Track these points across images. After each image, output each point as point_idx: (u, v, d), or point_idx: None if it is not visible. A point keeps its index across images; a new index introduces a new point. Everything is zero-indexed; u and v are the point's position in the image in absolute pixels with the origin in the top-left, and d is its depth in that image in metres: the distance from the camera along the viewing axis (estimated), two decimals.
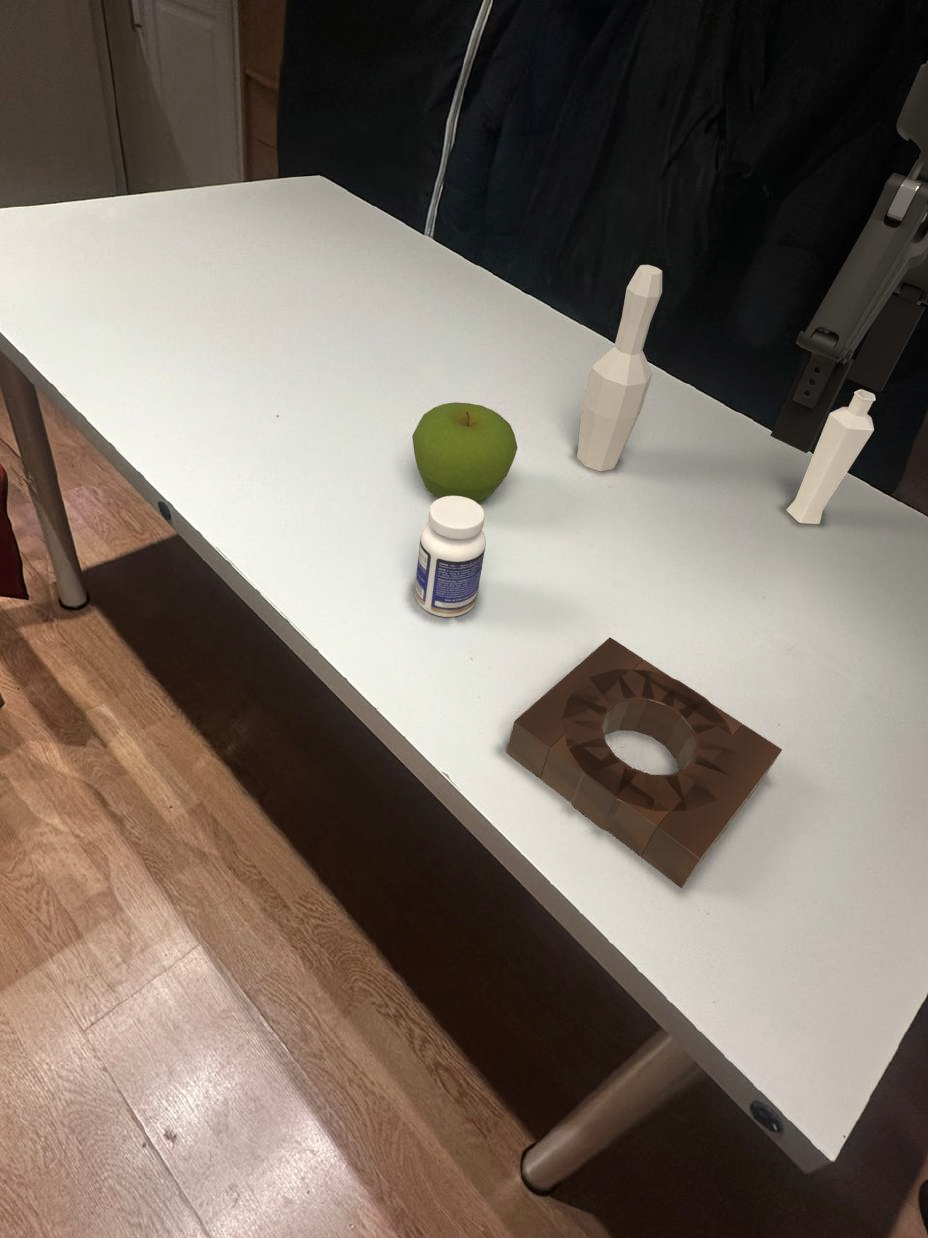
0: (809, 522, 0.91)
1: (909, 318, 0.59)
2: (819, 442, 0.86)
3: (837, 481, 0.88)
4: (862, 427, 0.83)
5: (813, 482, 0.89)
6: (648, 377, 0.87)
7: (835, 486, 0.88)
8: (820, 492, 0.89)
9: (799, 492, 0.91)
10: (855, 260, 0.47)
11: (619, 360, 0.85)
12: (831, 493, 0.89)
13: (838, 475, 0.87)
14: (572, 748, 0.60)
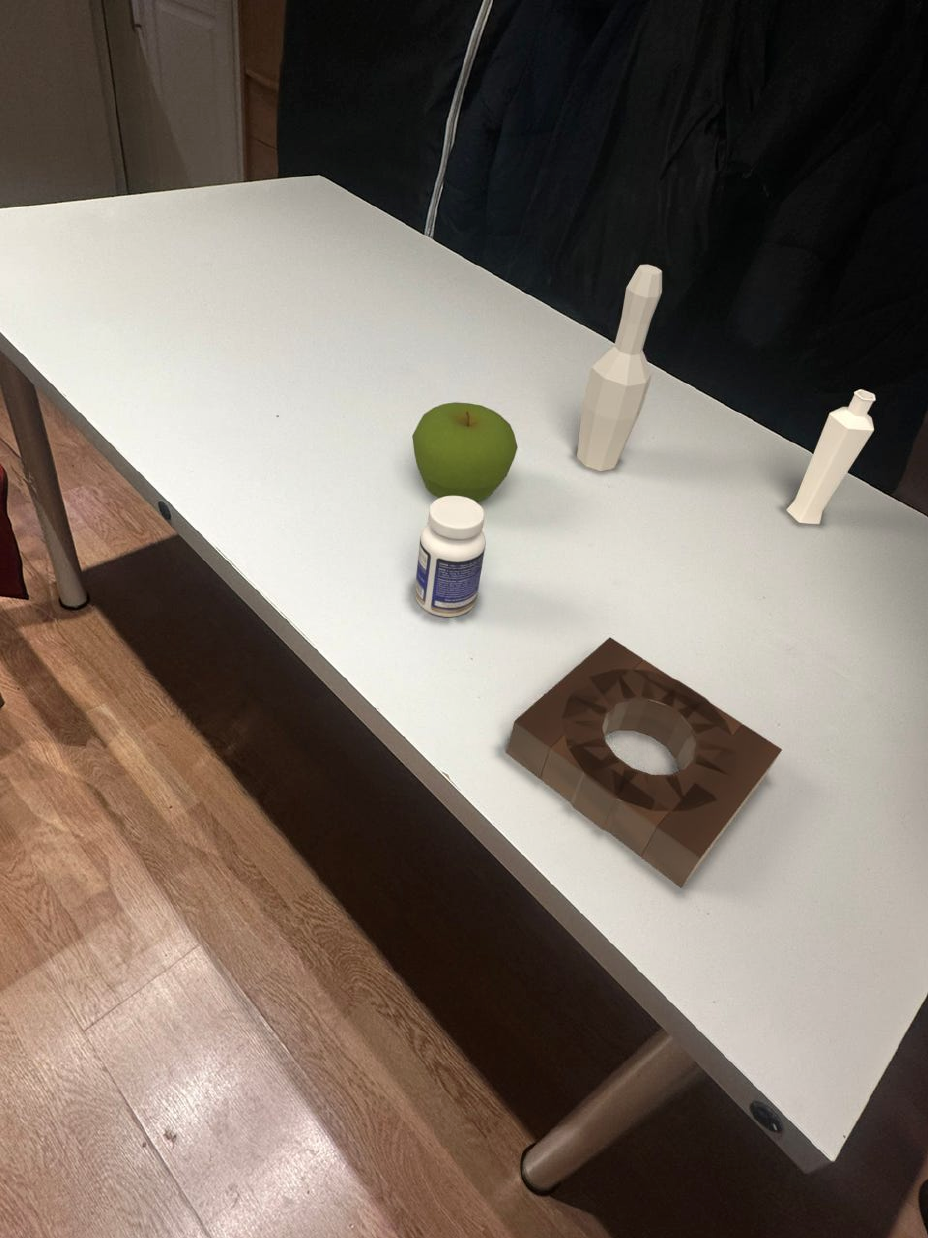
0: (809, 522, 0.91)
1: None
2: (819, 442, 0.86)
3: (837, 481, 0.88)
4: (862, 427, 0.83)
5: (813, 482, 0.89)
6: (648, 377, 0.87)
7: (835, 486, 0.88)
8: (820, 492, 0.89)
9: (799, 492, 0.91)
10: None
11: (619, 360, 0.85)
12: (831, 493, 0.89)
13: (838, 475, 0.87)
14: (572, 748, 0.60)
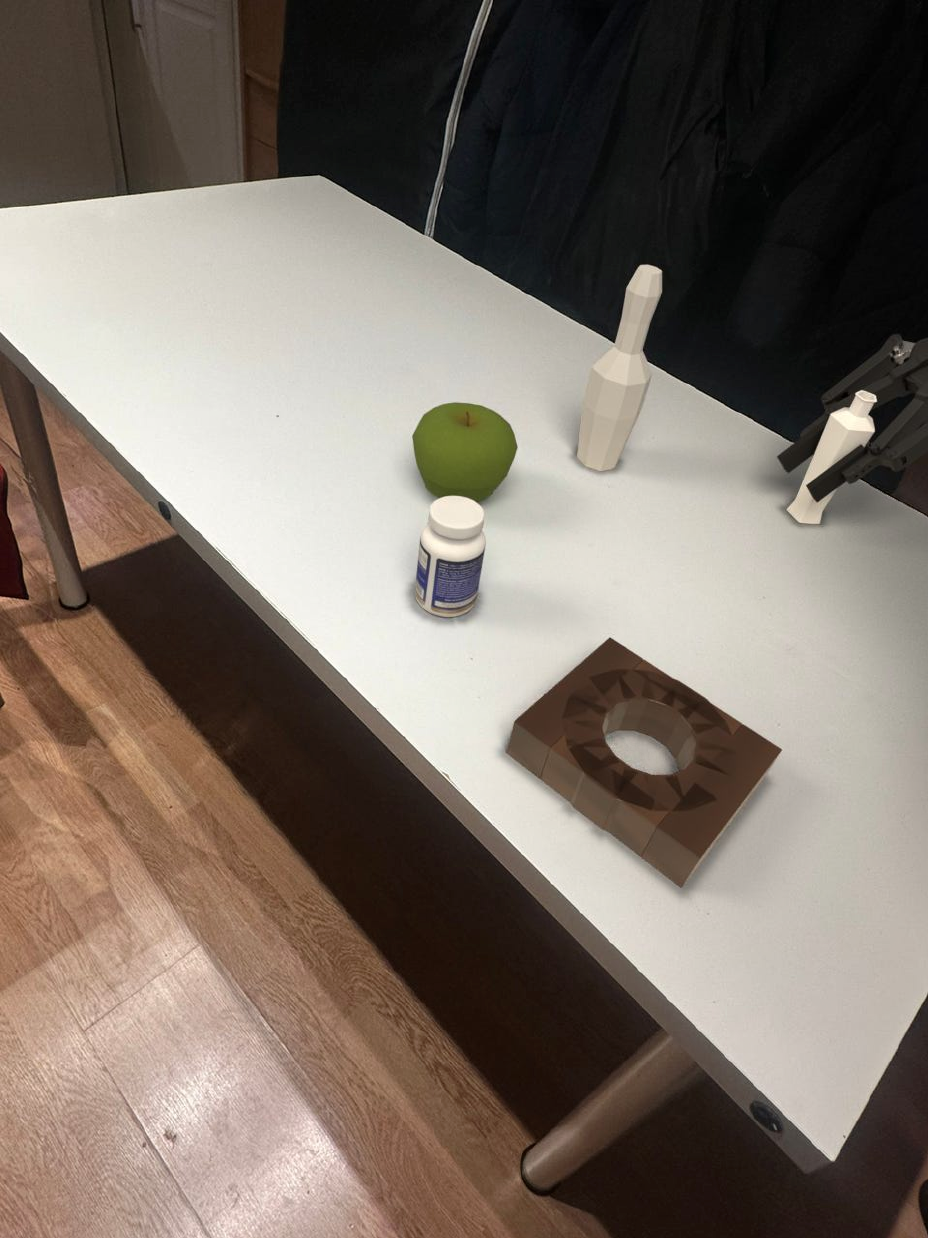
0: (809, 521, 0.91)
1: None
2: (820, 442, 0.86)
3: None
4: (863, 428, 0.83)
5: None
6: (648, 377, 0.87)
7: None
8: None
9: (799, 492, 0.91)
10: None
11: (619, 359, 0.85)
12: (831, 493, 0.89)
13: None
14: (572, 748, 0.60)
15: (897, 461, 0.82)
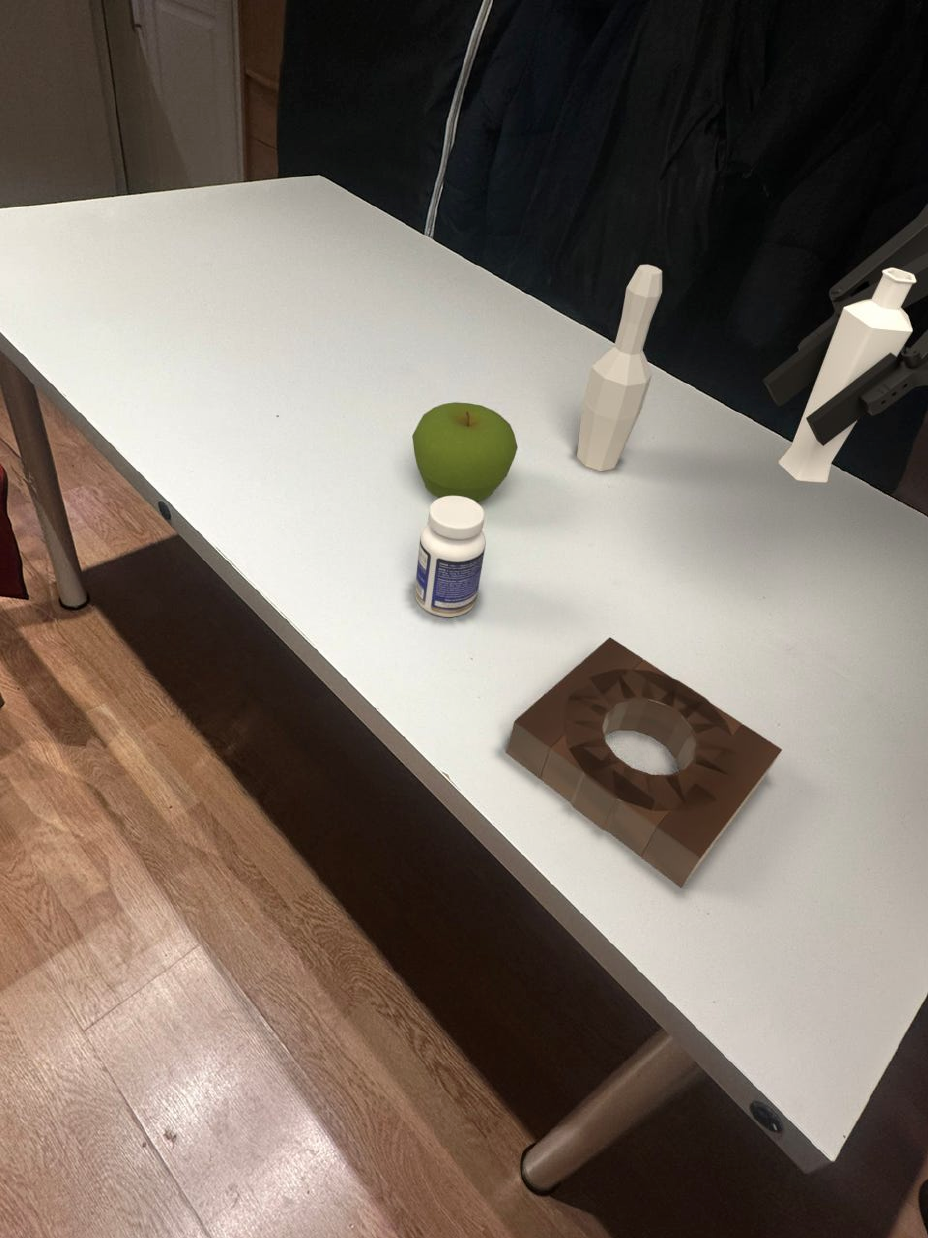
0: (812, 479, 0.62)
1: None
2: (827, 355, 0.57)
3: None
4: (895, 326, 0.53)
5: None
6: (648, 377, 0.87)
7: None
8: None
9: (796, 435, 0.62)
10: None
11: (619, 360, 0.85)
12: (845, 434, 0.60)
13: None
14: (572, 748, 0.60)
15: None
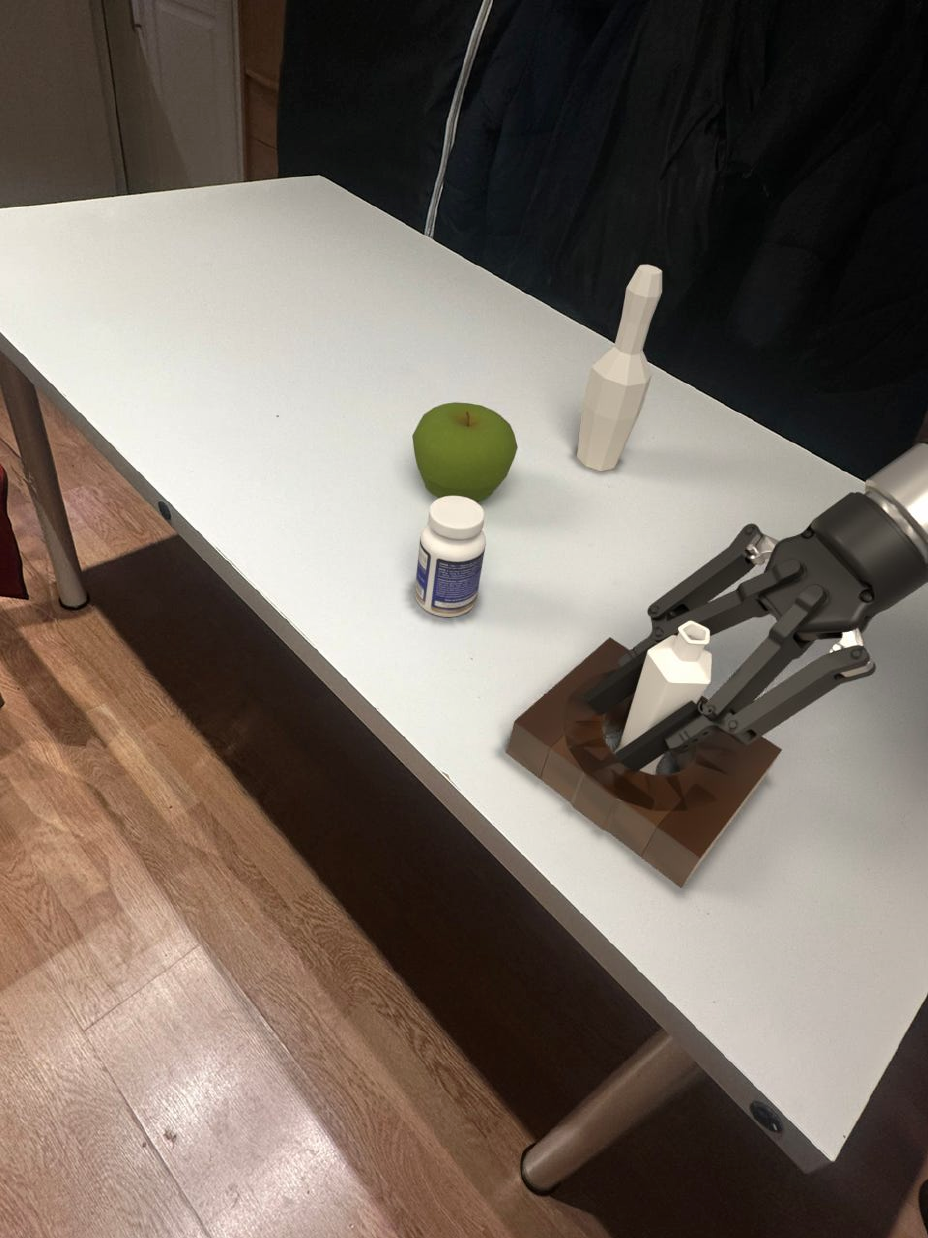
0: None
1: None
2: (639, 685, 0.58)
3: None
4: (692, 679, 0.55)
5: (635, 735, 0.60)
6: (648, 377, 0.87)
7: None
8: None
9: (622, 740, 0.63)
10: None
11: (619, 360, 0.85)
12: None
13: None
14: (572, 748, 0.60)
15: (741, 736, 0.53)
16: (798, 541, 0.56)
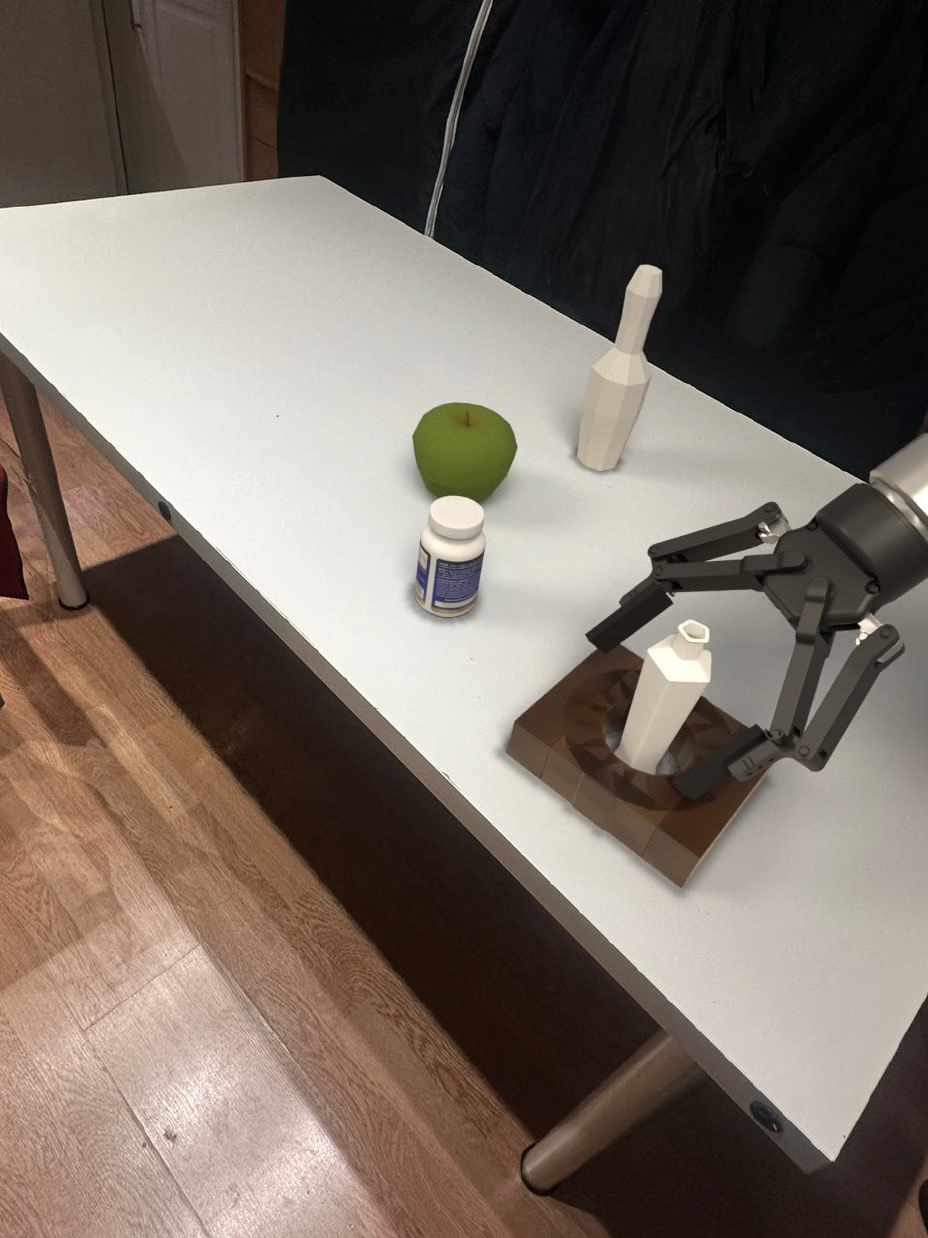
0: None
1: None
2: (638, 684, 0.58)
3: (669, 737, 0.59)
4: (692, 678, 0.55)
5: (636, 735, 0.60)
6: (648, 377, 0.87)
7: (667, 742, 0.60)
8: (647, 749, 0.61)
9: (622, 740, 0.63)
10: None
11: (619, 359, 0.85)
12: (663, 749, 0.61)
13: (668, 730, 0.59)
14: (572, 748, 0.60)
15: (816, 760, 0.49)
16: (802, 533, 0.55)
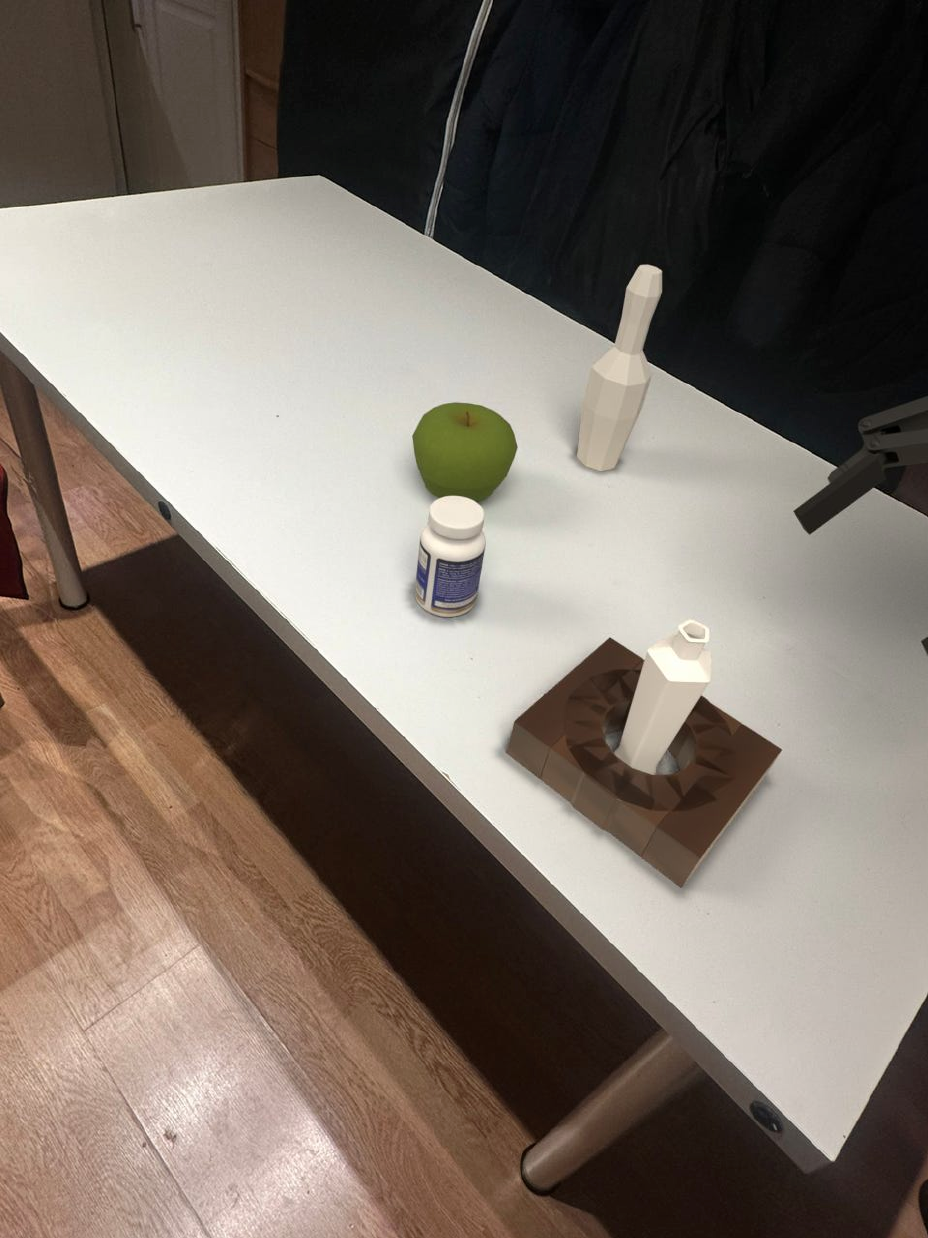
0: None
1: None
2: (638, 684, 0.58)
3: (669, 737, 0.59)
4: (692, 678, 0.55)
5: (636, 735, 0.60)
6: (648, 377, 0.87)
7: (667, 742, 0.60)
8: (647, 749, 0.61)
9: (622, 740, 0.63)
10: None
11: (619, 359, 0.85)
12: (663, 749, 0.61)
13: (668, 730, 0.59)
14: (572, 748, 0.60)
15: None
16: None
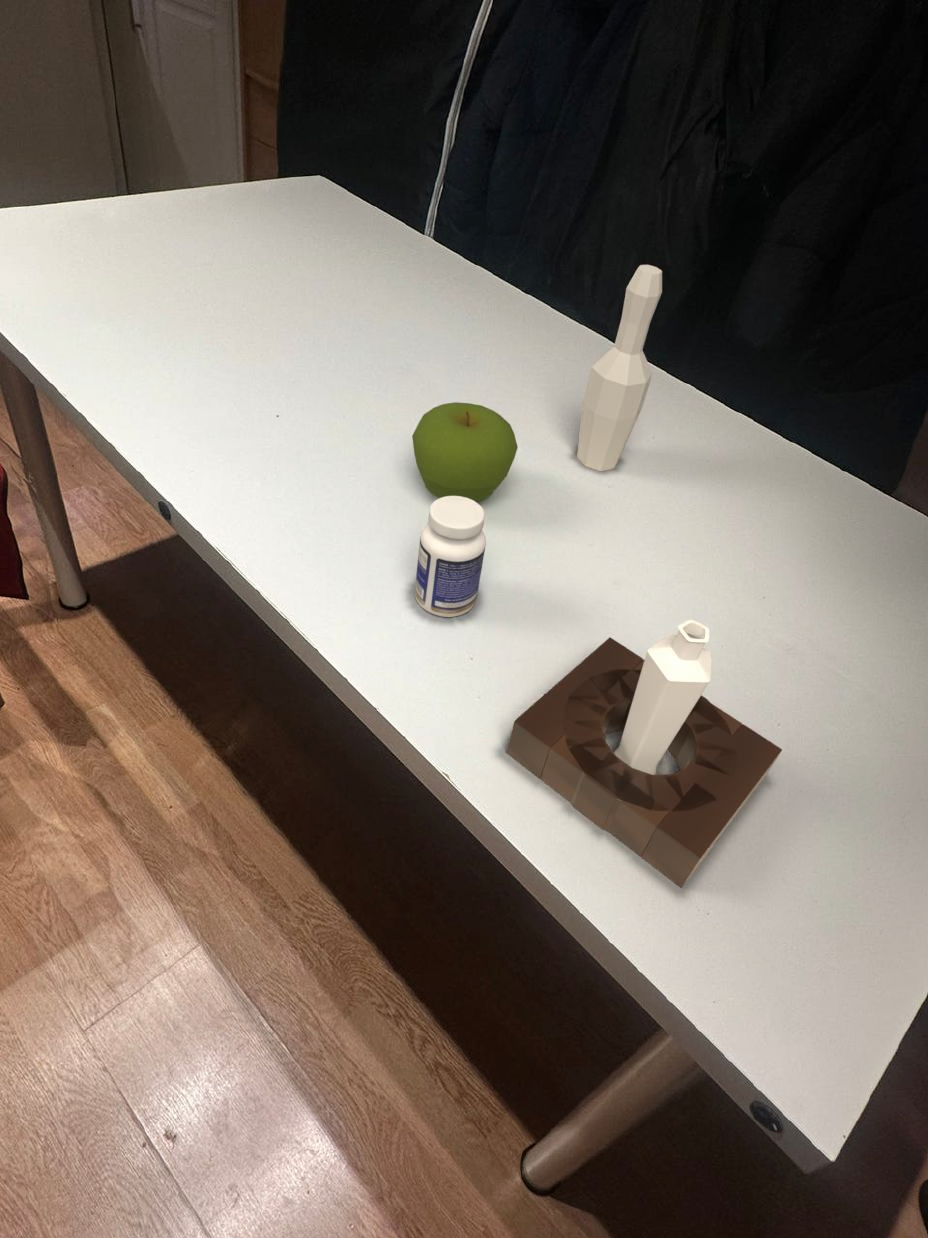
0: None
1: None
2: (638, 684, 0.58)
3: (669, 737, 0.59)
4: (692, 678, 0.55)
5: (636, 735, 0.60)
6: (648, 377, 0.87)
7: (667, 742, 0.60)
8: (647, 749, 0.61)
9: (622, 740, 0.63)
10: None
11: (619, 359, 0.85)
12: (663, 749, 0.61)
13: (668, 730, 0.59)
14: (572, 748, 0.60)
15: None
16: None
